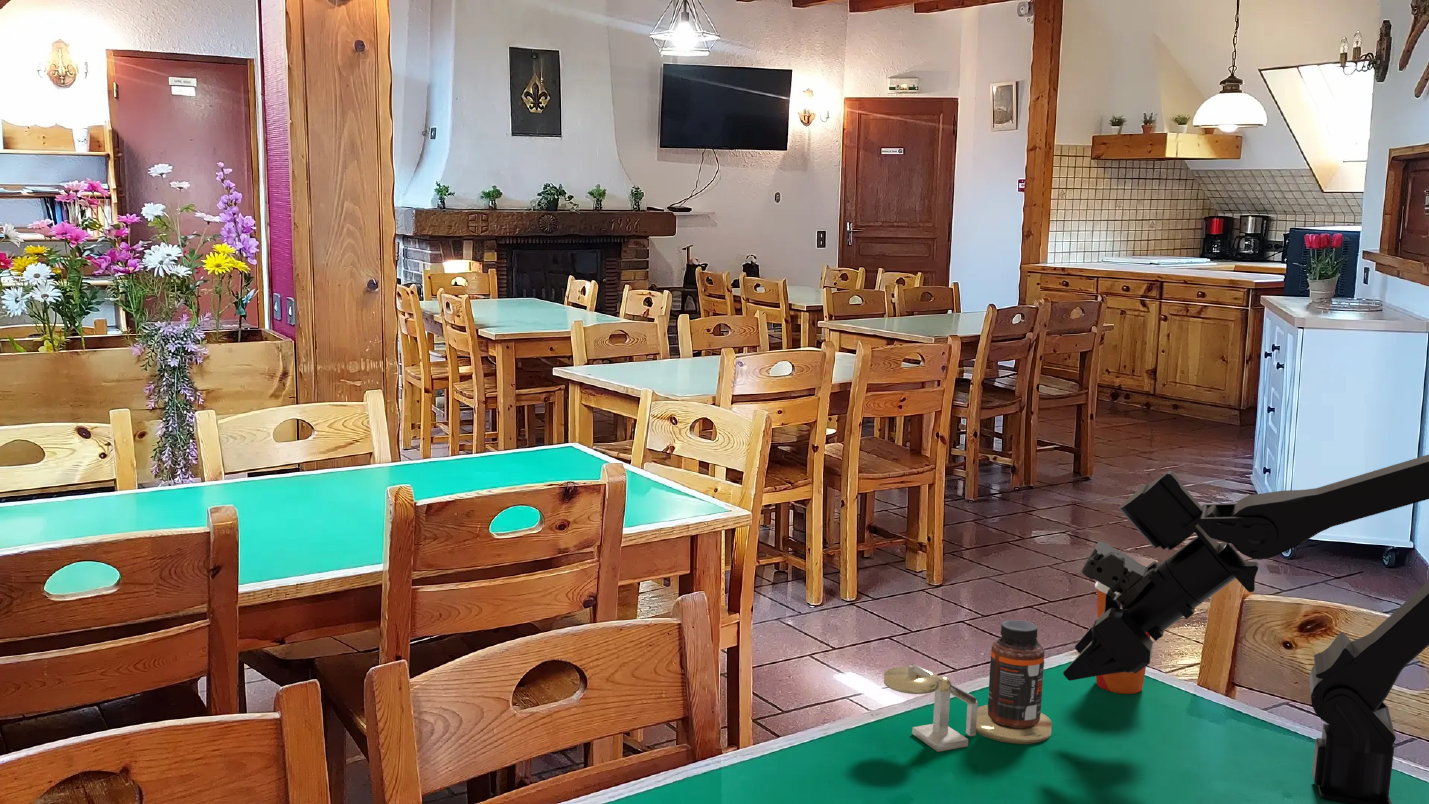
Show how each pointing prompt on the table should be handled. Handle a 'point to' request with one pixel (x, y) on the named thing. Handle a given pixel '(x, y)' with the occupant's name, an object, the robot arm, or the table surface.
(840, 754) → the table surface
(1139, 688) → the paper cup
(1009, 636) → the supplement bottle
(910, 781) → the table surface
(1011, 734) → the balance
